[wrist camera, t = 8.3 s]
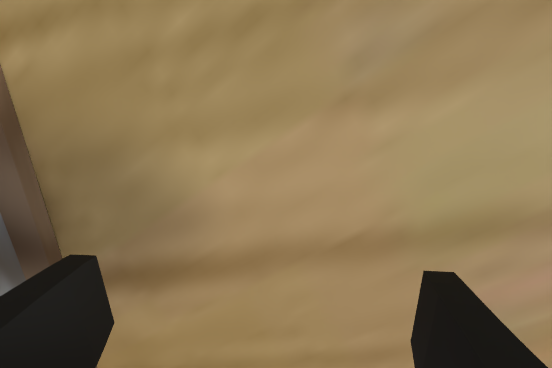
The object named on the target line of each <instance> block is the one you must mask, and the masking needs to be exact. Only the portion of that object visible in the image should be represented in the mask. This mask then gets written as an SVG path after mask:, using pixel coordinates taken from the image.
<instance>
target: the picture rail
mask: <svg viewBox="0 0 552 368" xmlns="http://www.w3.org/2000/svg"><path fill="white" fill-rule="evenodd" d="M61 259H62V256H61V253H60V250H59V247H58V244H57V241H56V237H55V234H54V231H53V228H52V225H51V222H50V219H49V216H48V212H47V209H46V206H45V203H44V200H43V197H42V194H41V191H40V187H39V184H38V181H37V178H36V175H35V172H34V169H33V166H32V162H31V159H30V156H29V153H28V150H27V147H26V144H25V140H24V137H23V134H22V131H21V128H20V125H19V122H18V119H17V115H16V112H15V109H14V106H13V103H12V100H11V97H10V94H9V90H8V87H7V84H6V81H5V78H4V75H3V72H2V69H1V65H0V296H1V295H3V294H5V293H6V292H8V291H10V290H11V289H13V288H14V287H16V286H18V285H19V284H21V283H23V282H24V281H26V280H27V279H29V278H31V277H32V276H34V275H36V274H37V273H39V272H41V271H42V270H44V269H46V268H47V267H49V266H51V265H53V264H54V263H56V262H58V261H60V260H61ZM96 368H97V366H96Z"/></svg>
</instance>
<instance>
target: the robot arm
mask: <svg viewBox="0 0 552 368" xmlns="http://www.w3.org/2000/svg"><path fill="white" fill-rule="evenodd" d="M113 325H114V319H113V316H112V312H111V308H110V305H109V301H108V297H107V294H106V290H105V286H104V283H103V279H102V275H101V272H100V268H99V264H98V260H97V257H96V256H91V255H69V256H67V257H65V258H63V259H61V260H60V261H58V262H56V263H54V264H53V265H51V266H49V267H47V268H46V269H44V270H42V271H41V272H39V273H37V274H36V275H34V276H32V277H31V278H29V279H27V280H26V281H24V282H23V283H21V284H19V285H18V286H16V287H14V288H13V289H11V290H10V291H8V292H6V293H5V294H3V295H1V296H0V368H96V366H97V364H98V361H99V359H100V357H101V354H102V352H103V350H104V347H105V345H106V342H107V340H108V337H109V335H110V332H111V330H112V327H113ZM411 346H412V352H413V359H414V365H415V368H548V367H547V366H546V365H545V364H544V363H543V362H541V361H540V360H539V359H538V358H537V357H536V356H535V355H534V354H533V353H532V352H531V351H530V350H529V349H528V348H527V347H526V346H525V345H524V344H523V343H522V342H521V341H520V340H519V339H518V338H517V337H516V336H515V335H514V334H513V333H512V332H511V331H510V330H509V329H508V328H507V327H506V326H505V325H504V324H503V323H502V322H501V321H500V320H499V319H498V318H497V317H496V316H495V315H494V314H493V313H492V312H491V310H490V309H489V308H488V307H487V306H486V305H485V304H484V303H483V302H482V301H481V300H480V299H479V298H478V297H477V296H476V295H475V294H474V293H473V292H472V290H471V289H470V288H469V287H468V286H467V285H466V284H465V283H464V282H463V281H462V280H461V279H460V278H459V277H458V276H457V275H456V274H455V273H454V272H438V271H424V272H423V277H422V283H421V288H420V294H419V299H418V304H417V310H416V315H415V321H414V326H413V332H412V337H411Z"/></svg>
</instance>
